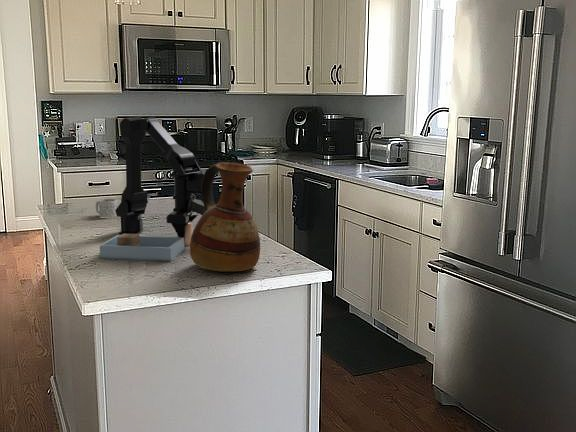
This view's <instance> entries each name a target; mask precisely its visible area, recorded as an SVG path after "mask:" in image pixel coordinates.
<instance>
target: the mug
mask: <svg viewBox="0 0 576 432" xmlns="http://www.w3.org/2000/svg"><path fill="white" fill-rule="evenodd" d="M117 207H118V200H117V198H103V199H99V200H97V201H95V211H96V213H97V214H99V218H100V217H115V216H117V215H116V211H115V210H116V209H117ZM117 217H118V216H117Z"/></svg>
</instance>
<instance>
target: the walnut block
mask: <svg viewBox="0 0 576 432" xmlns="http://www.w3.org/2000/svg"><path fill="white" fill-rule="evenodd" d="M119 235H120V236H119V237H117V240H118V246H140V240H139V236H140V233H139V234H119Z"/></svg>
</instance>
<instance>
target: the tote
mask: <svg viewBox="0 0 576 432" xmlns="http://www.w3.org/2000/svg"><path fill="white" fill-rule="evenodd" d="M120 235H121V234H116V235H115V236H112V238H110V239H108V240H107V241H105V242H102V243H101V244H99V257H100V259H101V260H123V261H124V260H127V261H146V262H147V261H152V262H172V261H173V260H175V258H177V257H178V256H179V255H180V254H181V253H183V251H184V250H185V246H184V237H177V236H160V235H159V236H157V235H156V236H154V235H152V236H151V235H139V240H140V246H118V240H117V237H119V236H120Z"/></svg>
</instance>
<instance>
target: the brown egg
mask: <svg viewBox="0 0 576 432" xmlns="http://www.w3.org/2000/svg"><path fill="white" fill-rule="evenodd" d="M193 230H194V228H193V222H189V223H188V224H187V226H186V233H185V240H184V247H190V241H191V236H192V233H193ZM176 237H178V235H177V234H176Z"/></svg>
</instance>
